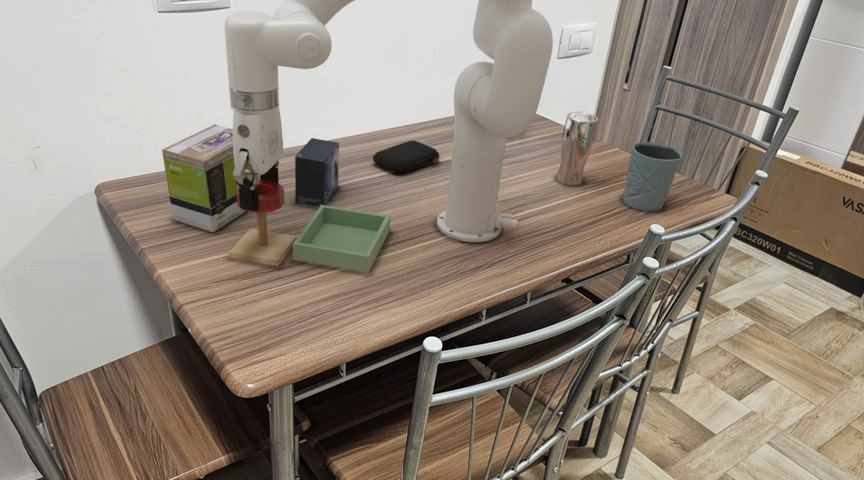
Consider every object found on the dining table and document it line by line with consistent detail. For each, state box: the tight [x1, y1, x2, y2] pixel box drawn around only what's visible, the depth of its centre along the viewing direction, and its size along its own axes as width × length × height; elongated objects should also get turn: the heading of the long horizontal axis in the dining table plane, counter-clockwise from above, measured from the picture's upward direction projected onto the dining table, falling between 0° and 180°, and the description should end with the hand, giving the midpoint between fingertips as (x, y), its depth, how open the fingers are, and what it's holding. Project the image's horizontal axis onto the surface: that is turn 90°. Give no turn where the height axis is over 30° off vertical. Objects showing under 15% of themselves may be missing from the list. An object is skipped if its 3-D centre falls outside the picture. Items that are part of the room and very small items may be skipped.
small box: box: [294, 137, 340, 208], centre depth 139 cm, size 11×6×10 cm, turn 168°
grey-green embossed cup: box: [622, 141, 683, 212], centre depth 145 cm, size 10×10×12 cm
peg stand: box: [228, 212, 297, 267], centre depth 119 cm, size 9×9×10 cm
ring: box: [236, 179, 286, 214], centre depth 116 cm, size 8×8×2 cm
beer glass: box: [555, 111, 599, 187], centre depth 152 cm, size 7×7×15 cm
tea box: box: [161, 123, 260, 233], centre depth 129 cm, size 15×10×15 cm, turn 154°
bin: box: [292, 205, 391, 274], centre depth 124 cm, size 14×16×4 cm
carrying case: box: [372, 140, 440, 175], centre depth 157 cm, size 11×3×15 cm
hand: (260, 198), depth 116 cm, fingers closed on ring, 7 cm apart
